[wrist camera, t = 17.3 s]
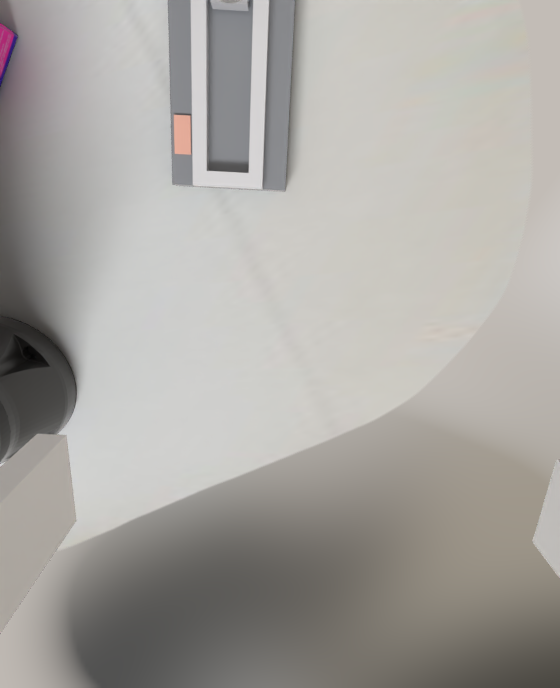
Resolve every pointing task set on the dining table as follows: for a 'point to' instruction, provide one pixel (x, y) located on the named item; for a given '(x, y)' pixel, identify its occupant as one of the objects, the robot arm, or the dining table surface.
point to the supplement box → (6, 48)
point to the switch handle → (230, 5)
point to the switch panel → (230, 93)
